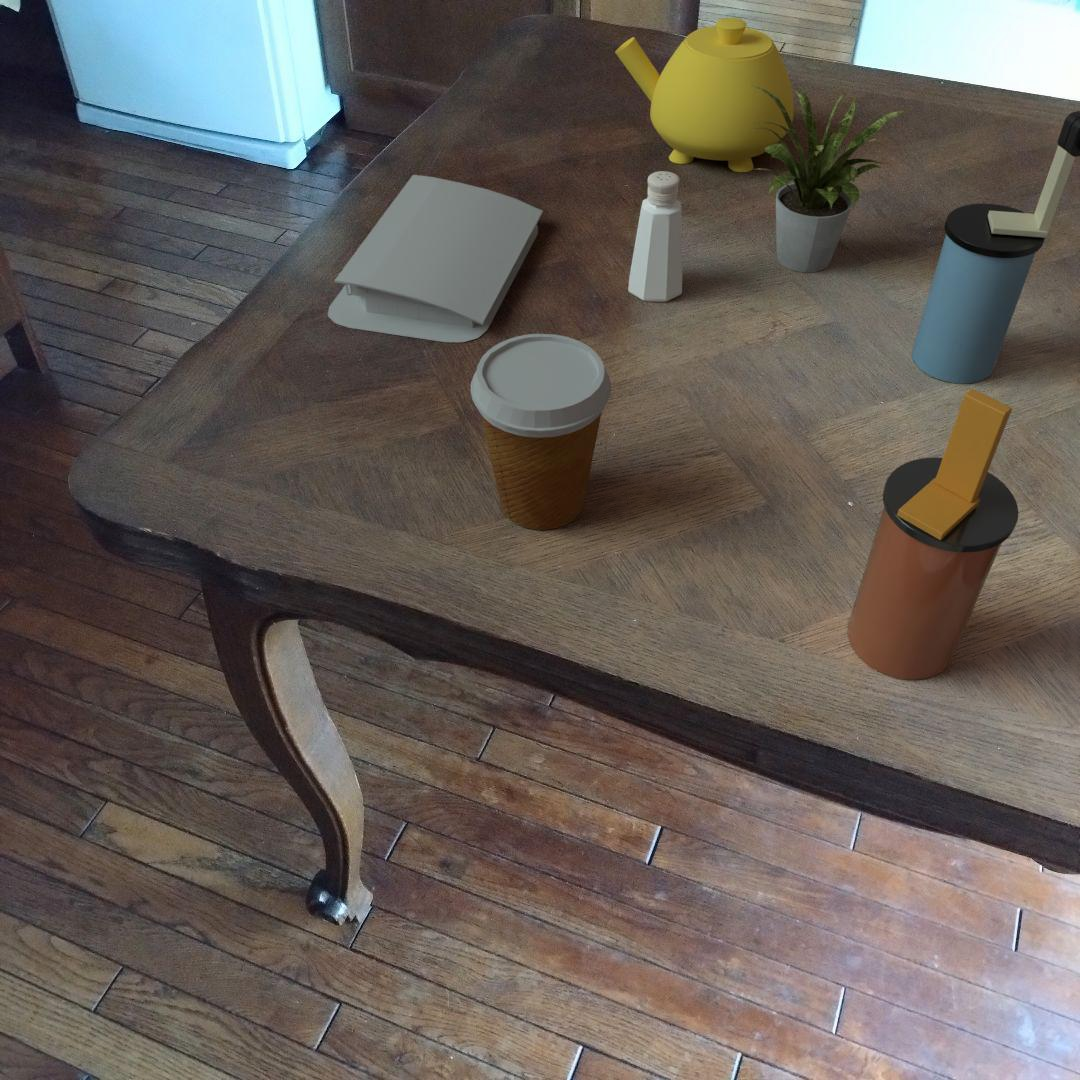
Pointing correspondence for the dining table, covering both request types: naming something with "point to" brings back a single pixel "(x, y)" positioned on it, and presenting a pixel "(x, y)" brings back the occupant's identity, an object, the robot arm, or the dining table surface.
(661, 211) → the salt shaker
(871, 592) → the near tumbler
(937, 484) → the near slider
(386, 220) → the book
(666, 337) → the dining table surface
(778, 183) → the house plant
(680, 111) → the teapot
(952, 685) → the dining table surface
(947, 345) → the disc
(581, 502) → the disposable coffee cup
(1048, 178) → the block
